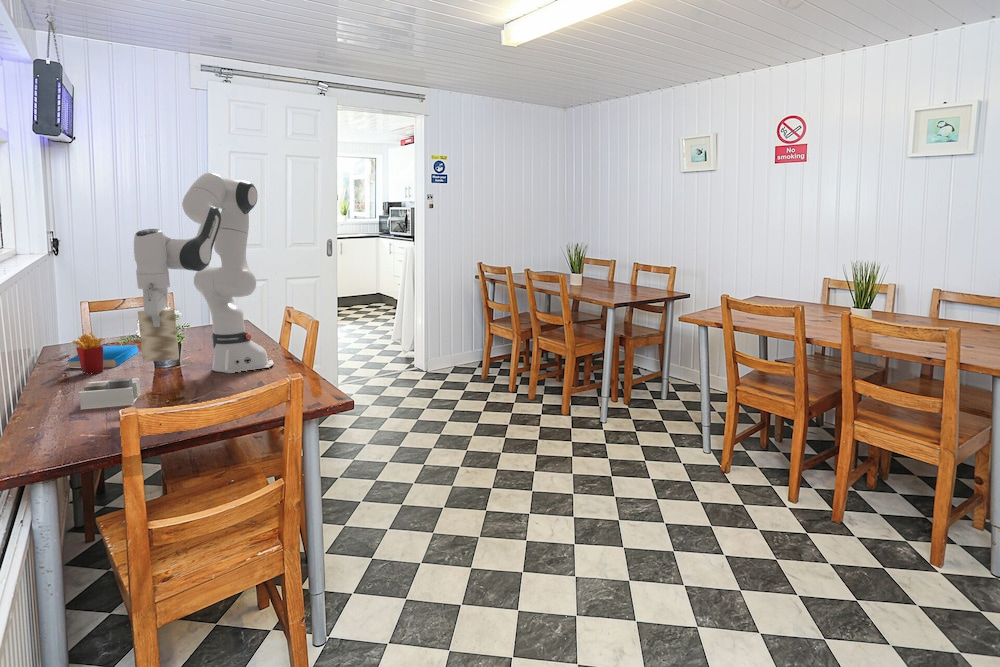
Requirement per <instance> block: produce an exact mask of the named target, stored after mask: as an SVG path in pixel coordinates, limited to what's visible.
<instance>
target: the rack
mask: <svg viewBox="0 0 1000 667" xmlns="http://www.w3.org/2000/svg"><path fill="white" fill-rule="evenodd" d="M109 381H110V380H101V381H89V382H87V384H91V383H104V382H109ZM132 385H133V388H132V387H131V388H119V389H106V390H94V391H84V390H83V391H78V398H79V405H80V409H79V410H80V411H81V410H91V409H101V408H102V409H103V408H104V409H105V408H113V407H126V406H133V405H134V404H135V402H136V401H137V399H138V398H139V396H140V395H141V393H142V392H141V383H140V378H138V377H137V378H132ZM108 387H109V384H108ZM133 393H134V397H133Z"/></svg>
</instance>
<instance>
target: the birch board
mask: <svg viewBox="0 0 1000 667" xmlns="http://www.w3.org/2000/svg"><path fill="white" fill-rule="evenodd" d="M175 310H176V309H175V308H173V309H169V308H168V309H164V310H162V311H161V312H160V313H159V315H160V316H159V318H160V324H161V325H160V327H154V326H153V320H152V317H151V316H145V313H144V310H138V311H137V317H138V318H137V319H138V325H139V336H140V346H141V354H142V355H141V356H142V362H143V363H144V362H145V363H147V362H160V361H161V362H162V361H177V360H179V359H180V352H179V344H178V341H179V340H178V333H177V332H178V331H177V323H176V322H177V321H176V313H175Z"/></svg>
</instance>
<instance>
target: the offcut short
mask: <svg viewBox="0 0 1000 667" xmlns="http://www.w3.org/2000/svg"><path fill="white" fill-rule="evenodd" d="M106 389H109V387H108V382H104V383H91V384H88V383H86V384H85V386H83V391H94V390H106Z"/></svg>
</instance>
